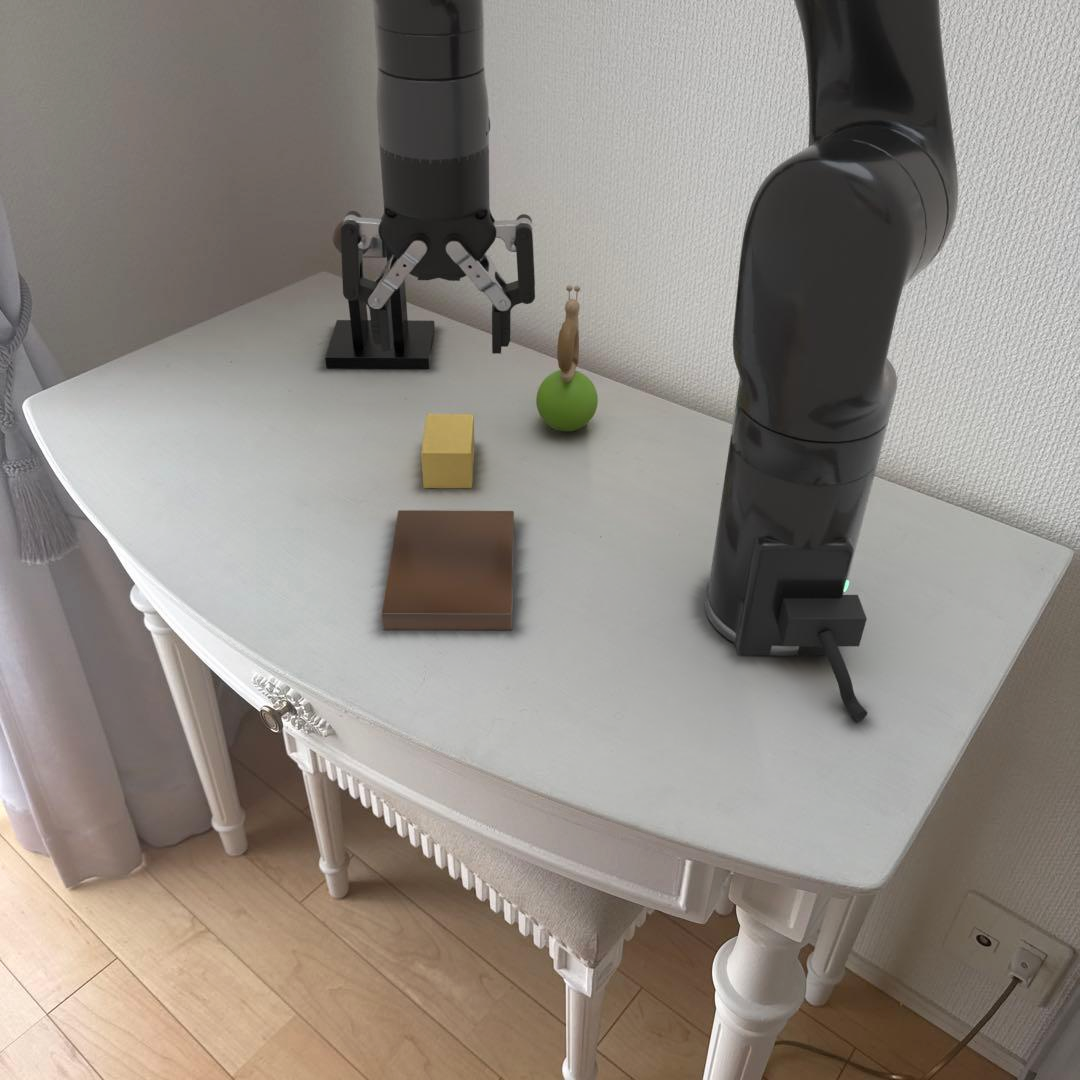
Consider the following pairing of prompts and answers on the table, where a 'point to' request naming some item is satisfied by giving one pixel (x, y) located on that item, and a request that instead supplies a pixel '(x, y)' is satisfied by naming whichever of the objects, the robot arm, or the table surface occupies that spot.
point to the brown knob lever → (373, 251)
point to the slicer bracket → (360, 351)
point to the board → (450, 571)
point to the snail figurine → (567, 380)
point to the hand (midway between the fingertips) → (442, 348)
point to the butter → (448, 451)
